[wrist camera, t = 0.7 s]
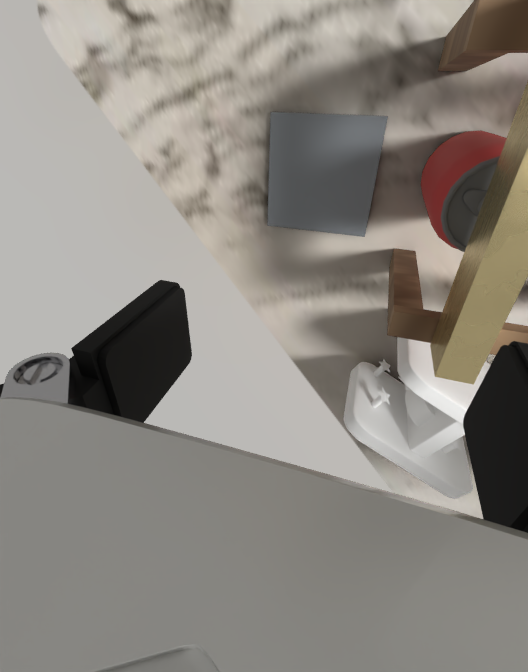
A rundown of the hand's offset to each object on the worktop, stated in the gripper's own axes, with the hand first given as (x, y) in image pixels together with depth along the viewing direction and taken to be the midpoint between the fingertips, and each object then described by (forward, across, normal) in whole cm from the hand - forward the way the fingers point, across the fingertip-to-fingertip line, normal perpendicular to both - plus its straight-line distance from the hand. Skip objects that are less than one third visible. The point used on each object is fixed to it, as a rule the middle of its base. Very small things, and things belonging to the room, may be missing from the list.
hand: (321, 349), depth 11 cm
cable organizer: (+27, -11, +20) cm, 35 cm away
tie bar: (+13, -8, -1) cm, 15 cm away
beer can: (+27, -8, -1) cm, 28 cm away
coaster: (+27, +4, 0) cm, 27 cm away
